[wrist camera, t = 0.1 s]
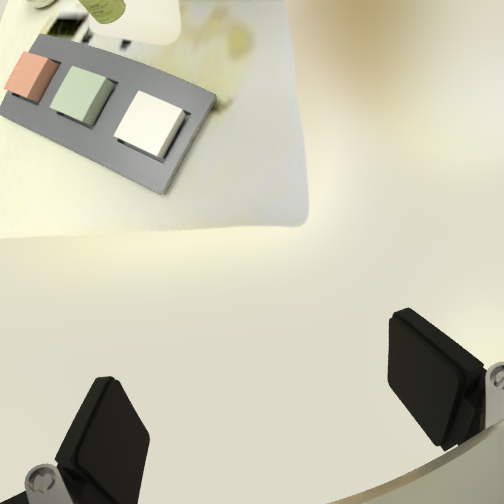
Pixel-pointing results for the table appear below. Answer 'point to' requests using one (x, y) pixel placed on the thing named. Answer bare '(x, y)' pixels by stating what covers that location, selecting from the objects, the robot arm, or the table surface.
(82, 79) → the sage button
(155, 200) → the table surface
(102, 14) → the tube
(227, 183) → the table surface
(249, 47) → the table surface
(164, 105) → the offwhite button
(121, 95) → the panel
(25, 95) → the terracotta button
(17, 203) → the table surface
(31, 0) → the plastic bottle
